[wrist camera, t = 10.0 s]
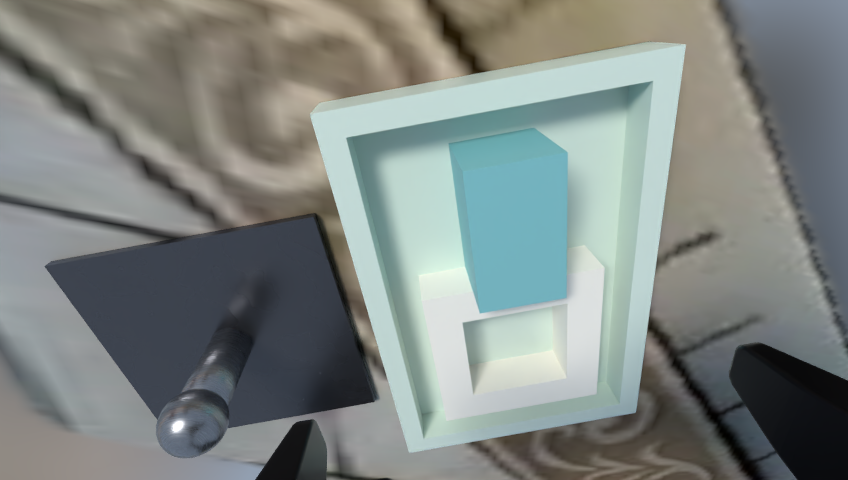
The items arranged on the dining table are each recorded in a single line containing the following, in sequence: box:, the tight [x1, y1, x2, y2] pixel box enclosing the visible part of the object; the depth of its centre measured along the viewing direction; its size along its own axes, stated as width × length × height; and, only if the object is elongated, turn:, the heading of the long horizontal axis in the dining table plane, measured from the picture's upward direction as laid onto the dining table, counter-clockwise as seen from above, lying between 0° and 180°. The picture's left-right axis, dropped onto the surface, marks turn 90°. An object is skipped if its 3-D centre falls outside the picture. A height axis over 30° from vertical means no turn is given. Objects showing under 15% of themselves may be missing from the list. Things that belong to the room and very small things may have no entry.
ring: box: [419, 128, 605, 421], centre depth 18 cm, size 14×8×4 cm, turn 9°
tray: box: [310, 42, 686, 453], centre depth 19 cm, size 19×13×2 cm
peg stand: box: [45, 213, 375, 458], centre depth 18 cm, size 12×12×6 cm
